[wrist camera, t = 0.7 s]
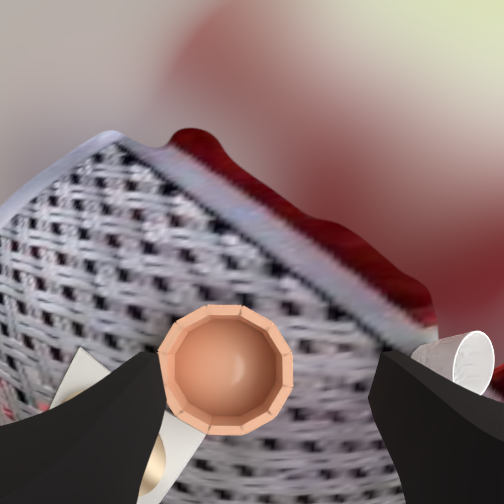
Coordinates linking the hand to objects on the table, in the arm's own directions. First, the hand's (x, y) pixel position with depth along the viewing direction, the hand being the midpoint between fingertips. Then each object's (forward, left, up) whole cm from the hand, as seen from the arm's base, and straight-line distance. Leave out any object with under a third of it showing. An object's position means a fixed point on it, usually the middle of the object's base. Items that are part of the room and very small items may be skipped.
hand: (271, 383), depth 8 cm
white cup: (+9, -23, -24) cm, 34 cm away
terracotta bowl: (-2, +1, -24) cm, 24 cm away
